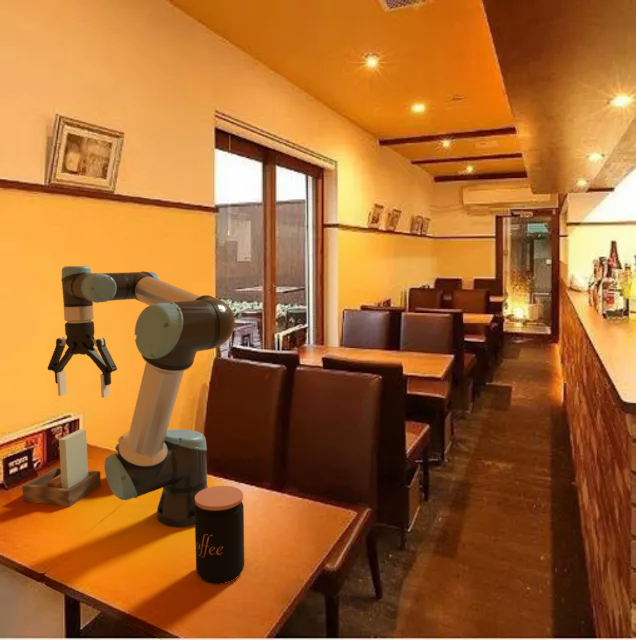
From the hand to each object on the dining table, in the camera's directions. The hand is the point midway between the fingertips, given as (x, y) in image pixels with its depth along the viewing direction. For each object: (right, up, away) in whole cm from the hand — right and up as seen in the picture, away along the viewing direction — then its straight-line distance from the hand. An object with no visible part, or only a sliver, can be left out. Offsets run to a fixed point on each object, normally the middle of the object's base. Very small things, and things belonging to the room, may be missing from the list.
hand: (83, 395), depth 157 cm
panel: (-3, -29, +2) cm, 29 cm away
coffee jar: (+45, -35, -33) cm, 66 cm away
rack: (-7, -30, +3) cm, 31 cm away
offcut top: (-7, -26, +2) cm, 28 cm away
